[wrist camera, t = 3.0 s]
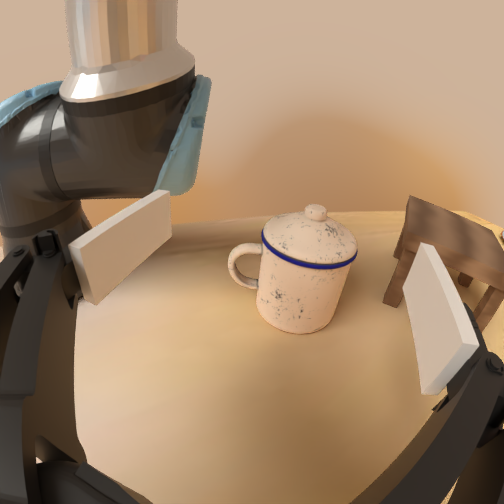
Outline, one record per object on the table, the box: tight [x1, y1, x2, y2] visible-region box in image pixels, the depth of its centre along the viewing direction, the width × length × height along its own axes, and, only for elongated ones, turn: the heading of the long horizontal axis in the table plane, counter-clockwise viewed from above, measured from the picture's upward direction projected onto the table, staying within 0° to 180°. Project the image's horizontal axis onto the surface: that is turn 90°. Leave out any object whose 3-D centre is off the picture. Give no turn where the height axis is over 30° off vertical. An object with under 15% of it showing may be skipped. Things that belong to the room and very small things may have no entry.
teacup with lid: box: [228, 204, 357, 334], centre depth 27 cm, size 12×9×12 cm
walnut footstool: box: [383, 196, 504, 333], centre depth 31 cm, size 16×16×10 cm
